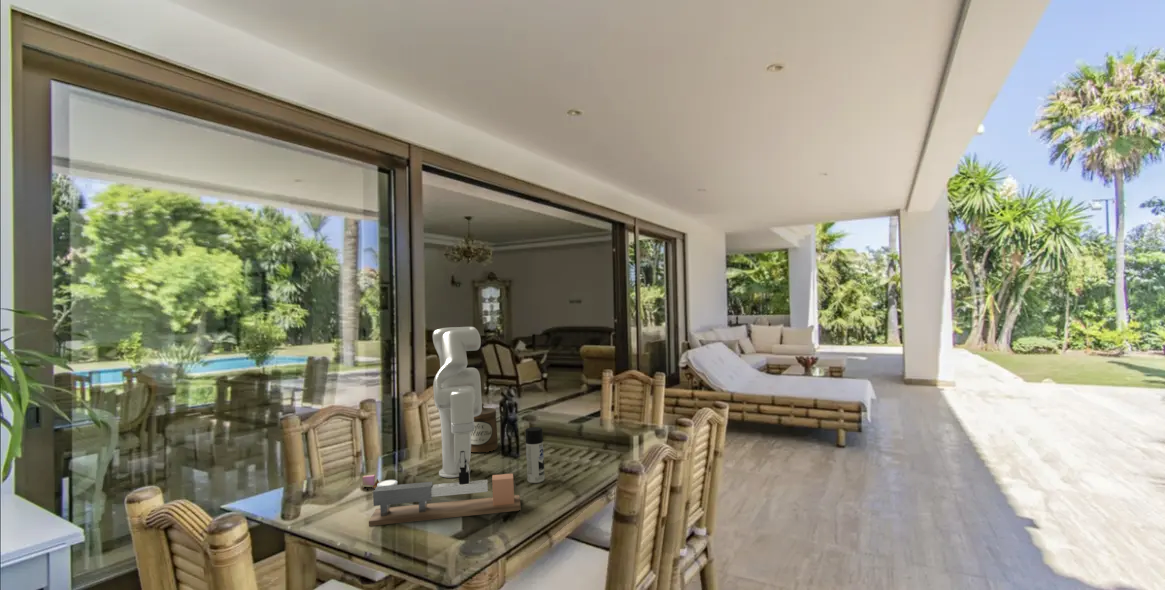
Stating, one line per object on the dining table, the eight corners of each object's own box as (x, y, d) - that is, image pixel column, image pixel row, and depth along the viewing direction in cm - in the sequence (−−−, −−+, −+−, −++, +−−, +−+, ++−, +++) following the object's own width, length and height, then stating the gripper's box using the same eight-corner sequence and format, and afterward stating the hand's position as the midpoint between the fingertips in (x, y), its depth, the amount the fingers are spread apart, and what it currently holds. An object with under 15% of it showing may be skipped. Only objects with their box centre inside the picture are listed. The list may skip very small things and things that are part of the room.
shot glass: (378, 507, 178) (378, 487, 178) (376, 501, 184) (375, 481, 185) (399, 503, 182) (398, 483, 182) (396, 497, 188) (396, 478, 188)
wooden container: (461, 453, 239) (459, 406, 239) (473, 444, 254) (471, 399, 254) (491, 453, 237) (489, 405, 237) (501, 444, 251) (500, 399, 251)
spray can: (541, 484, 196) (539, 431, 196) (524, 483, 197) (522, 430, 197) (546, 477, 202) (544, 426, 202) (530, 477, 203) (528, 426, 204)
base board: (376, 513, 174) (376, 508, 174) (519, 499, 182) (519, 494, 182) (368, 526, 164) (368, 521, 164) (520, 510, 172) (520, 505, 172)
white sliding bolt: (405, 495, 173) (404, 468, 173) (487, 487, 177) (486, 461, 177) (403, 500, 169) (402, 472, 169) (487, 492, 173) (486, 465, 173)
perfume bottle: (356, 493, 193) (356, 481, 193) (363, 482, 205) (363, 471, 205) (390, 490, 196) (390, 478, 196) (395, 479, 208) (395, 468, 208)
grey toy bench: (377, 511, 171) (376, 486, 171) (433, 506, 174) (432, 481, 174) (373, 517, 167) (373, 491, 167) (431, 511, 170) (430, 486, 170)
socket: (493, 500, 178) (492, 475, 178) (513, 497, 179) (512, 473, 179) (493, 505, 173) (492, 480, 173) (514, 503, 174) (513, 478, 174)
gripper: (453, 422, 182) (455, 474, 181) (448, 434, 165) (450, 491, 165) (475, 420, 183) (477, 472, 183) (472, 432, 166) (474, 489, 166)
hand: (464, 480), depth 174 cm, fingers closed on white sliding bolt, 4 cm apart
